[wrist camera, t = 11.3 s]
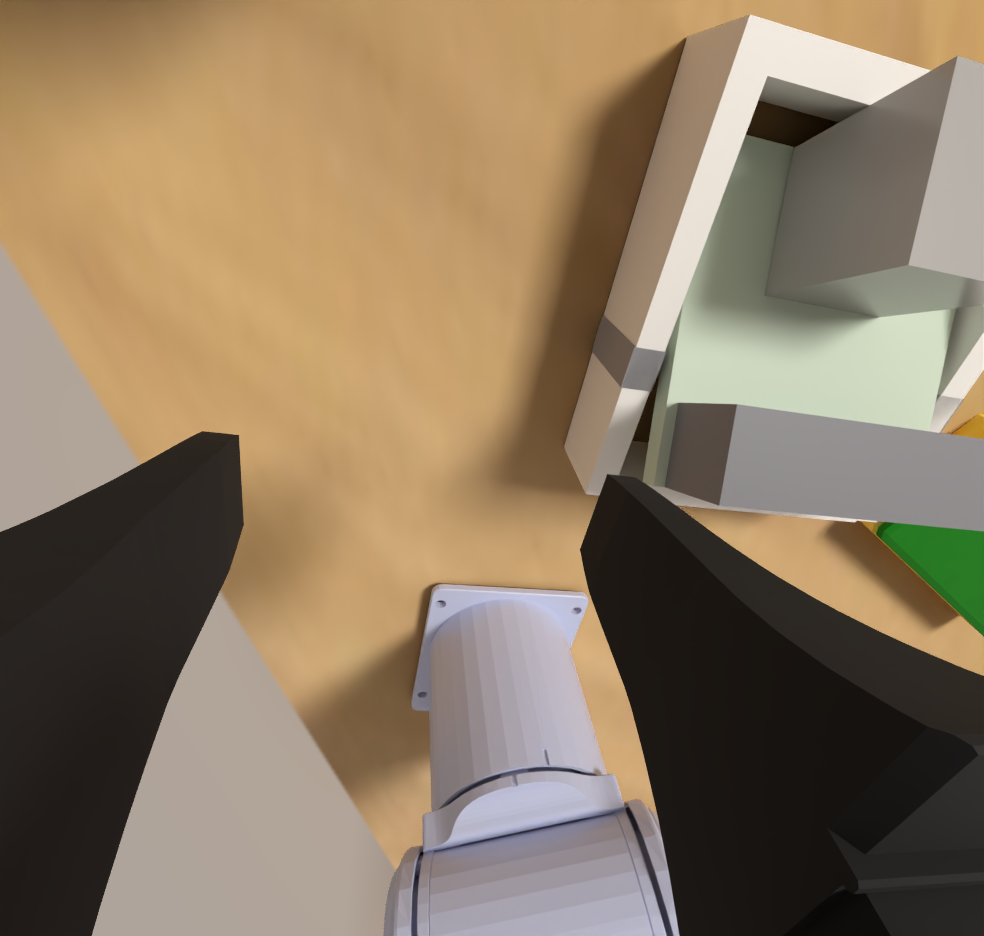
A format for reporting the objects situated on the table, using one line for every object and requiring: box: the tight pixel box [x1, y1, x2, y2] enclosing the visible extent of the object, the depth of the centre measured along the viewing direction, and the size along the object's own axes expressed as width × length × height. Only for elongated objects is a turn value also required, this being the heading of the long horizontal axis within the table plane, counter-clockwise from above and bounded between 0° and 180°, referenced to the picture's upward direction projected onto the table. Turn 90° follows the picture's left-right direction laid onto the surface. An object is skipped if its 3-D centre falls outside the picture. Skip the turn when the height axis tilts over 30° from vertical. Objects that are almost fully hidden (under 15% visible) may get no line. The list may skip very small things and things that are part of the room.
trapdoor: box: [642, 135, 984, 531], centre depth 17 cm, size 11×10×4 cm
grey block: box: [764, 56, 984, 317], centre depth 15 cm, size 4×4×5 cm
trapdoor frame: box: [564, 15, 984, 522], centre depth 19 cm, size 14×13×4 cm
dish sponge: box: [860, 413, 984, 636], centre depth 28 cm, size 7×14×2 cm, turn 50°
